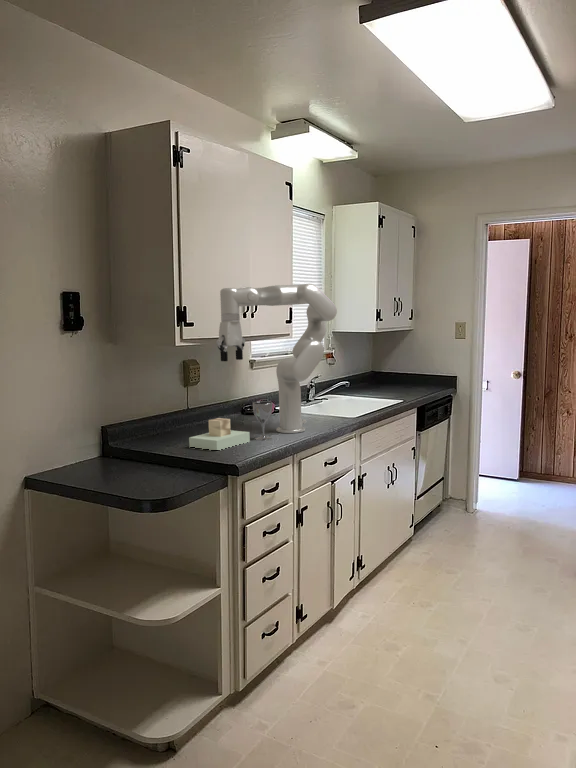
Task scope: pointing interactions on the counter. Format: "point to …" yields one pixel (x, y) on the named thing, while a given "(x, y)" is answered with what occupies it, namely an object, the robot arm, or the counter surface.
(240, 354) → the robot arm
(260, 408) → the wine glass
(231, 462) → the counter surface
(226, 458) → the counter surface
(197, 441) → the sage stand
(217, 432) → the maple cube
